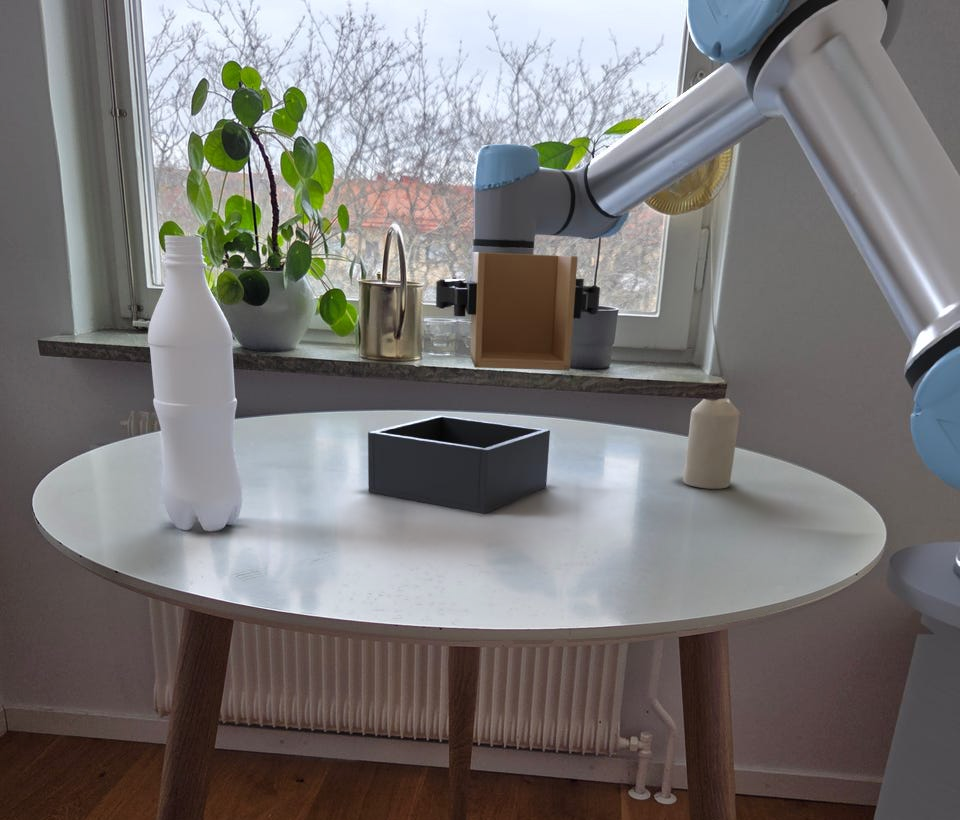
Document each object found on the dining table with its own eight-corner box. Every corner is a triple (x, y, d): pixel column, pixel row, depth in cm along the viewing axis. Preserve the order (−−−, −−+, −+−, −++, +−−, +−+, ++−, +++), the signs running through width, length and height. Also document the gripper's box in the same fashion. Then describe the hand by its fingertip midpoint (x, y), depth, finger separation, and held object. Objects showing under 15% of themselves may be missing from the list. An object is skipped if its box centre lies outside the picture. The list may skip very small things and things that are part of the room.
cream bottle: (712, 477, 115) (723, 394, 112) (738, 487, 111) (751, 401, 107) (673, 479, 114) (684, 395, 110) (699, 490, 109) (711, 402, 105)
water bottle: (166, 515, 90) (140, 234, 81) (242, 513, 92) (226, 237, 82) (163, 536, 84) (134, 234, 74) (245, 533, 86) (228, 237, 76)
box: (470, 356, 97) (473, 252, 93) (556, 359, 97) (563, 255, 94) (474, 367, 88) (478, 252, 84) (569, 370, 88) (577, 256, 84)
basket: (546, 487, 107) (550, 430, 105) (485, 513, 96) (487, 450, 93) (438, 469, 114) (439, 415, 111) (368, 492, 102) (367, 432, 99)
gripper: (598, 328, 109) (637, 347, 88) (411, 322, 108) (406, 339, 87) (603, 259, 106) (645, 261, 85) (412, 251, 105) (407, 252, 84)
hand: (525, 301), depth 86 cm, fingers closed on box, 9 cm apart
